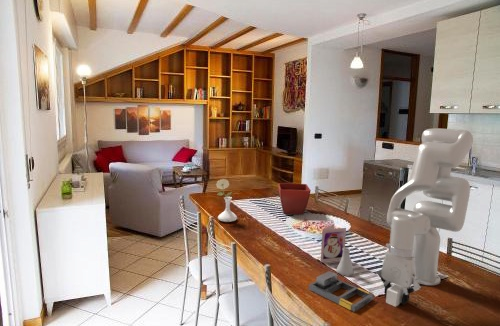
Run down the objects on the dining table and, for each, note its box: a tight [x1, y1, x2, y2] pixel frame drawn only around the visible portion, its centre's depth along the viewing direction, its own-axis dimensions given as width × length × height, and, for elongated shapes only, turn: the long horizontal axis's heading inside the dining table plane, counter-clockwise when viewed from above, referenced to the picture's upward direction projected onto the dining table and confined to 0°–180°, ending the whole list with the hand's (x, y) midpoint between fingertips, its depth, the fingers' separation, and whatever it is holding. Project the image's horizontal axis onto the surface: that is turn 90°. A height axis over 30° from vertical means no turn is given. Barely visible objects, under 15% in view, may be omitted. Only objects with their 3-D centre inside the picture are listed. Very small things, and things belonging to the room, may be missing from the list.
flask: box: [335, 247, 355, 277], centre depth 143 cm, size 7×7×10 cm
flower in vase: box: [215, 178, 238, 223], centre depth 205 cm, size 13×11×25 cm
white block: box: [385, 283, 404, 308], centre depth 122 cm, size 8×4×5 cm, turn 132°
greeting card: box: [320, 223, 347, 263], centre depth 155 cm, size 11×7×15 cm, turn 105°
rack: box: [308, 270, 374, 313], centre depth 125 cm, size 12×19×5 cm, turn 42°
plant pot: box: [278, 182, 311, 215], centre depth 227 cm, size 19×19×17 cm
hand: (396, 299), depth 123 cm, fingers open, 5 cm apart
